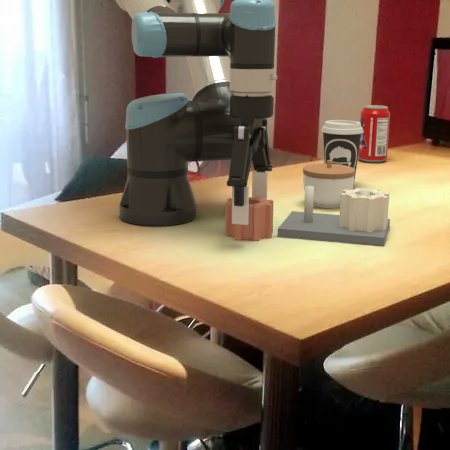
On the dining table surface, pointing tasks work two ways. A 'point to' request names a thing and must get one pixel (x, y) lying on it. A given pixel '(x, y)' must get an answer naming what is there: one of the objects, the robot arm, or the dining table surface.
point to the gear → (252, 220)
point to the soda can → (374, 133)
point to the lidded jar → (328, 182)
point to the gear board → (342, 219)
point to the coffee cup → (342, 142)
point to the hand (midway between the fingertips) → (250, 214)
